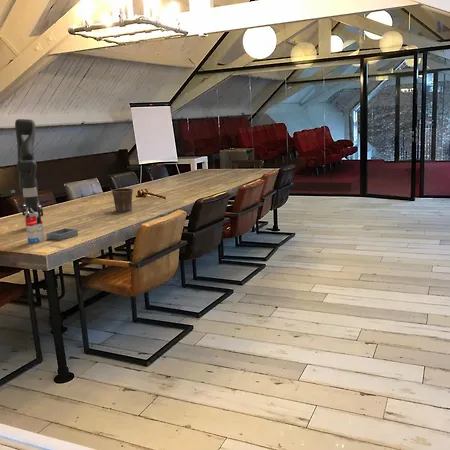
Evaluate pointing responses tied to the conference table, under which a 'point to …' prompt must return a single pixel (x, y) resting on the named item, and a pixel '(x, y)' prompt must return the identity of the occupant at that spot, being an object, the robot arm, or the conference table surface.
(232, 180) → the conference table surface
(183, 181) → the conference table surface
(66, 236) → the tray
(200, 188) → the conference table surface
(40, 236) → the ink box
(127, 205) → the plant pot
